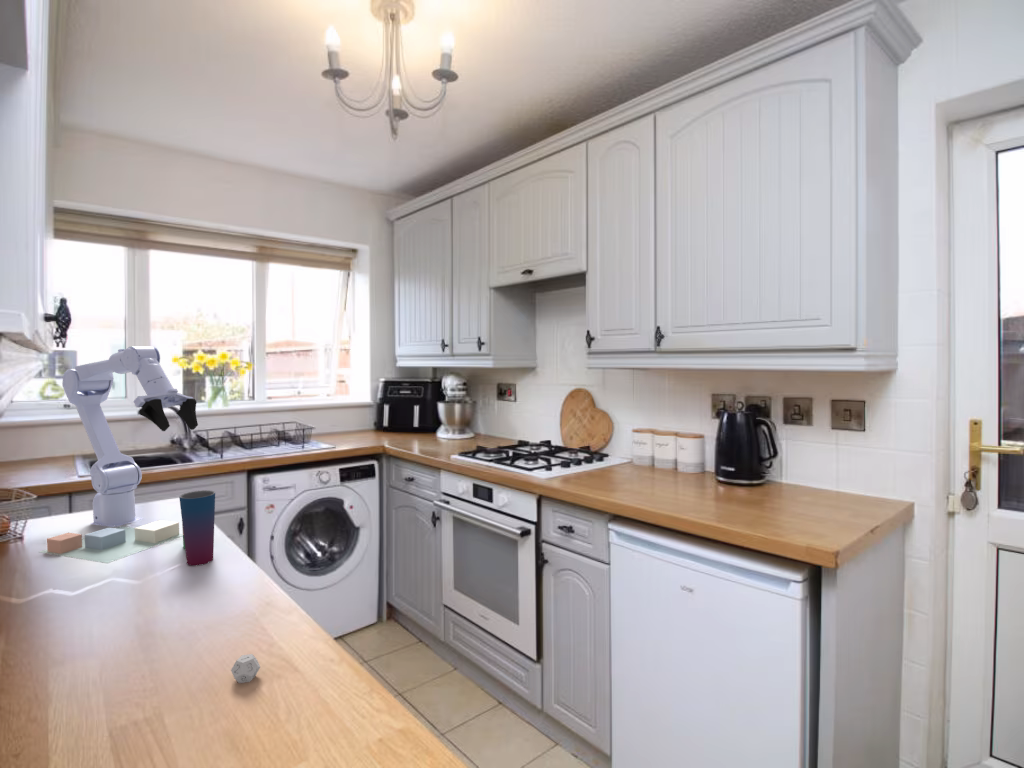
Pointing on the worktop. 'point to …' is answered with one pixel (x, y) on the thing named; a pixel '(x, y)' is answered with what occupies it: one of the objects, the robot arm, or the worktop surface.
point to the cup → (198, 525)
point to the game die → (245, 668)
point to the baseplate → (112, 548)
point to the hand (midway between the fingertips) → (180, 428)
